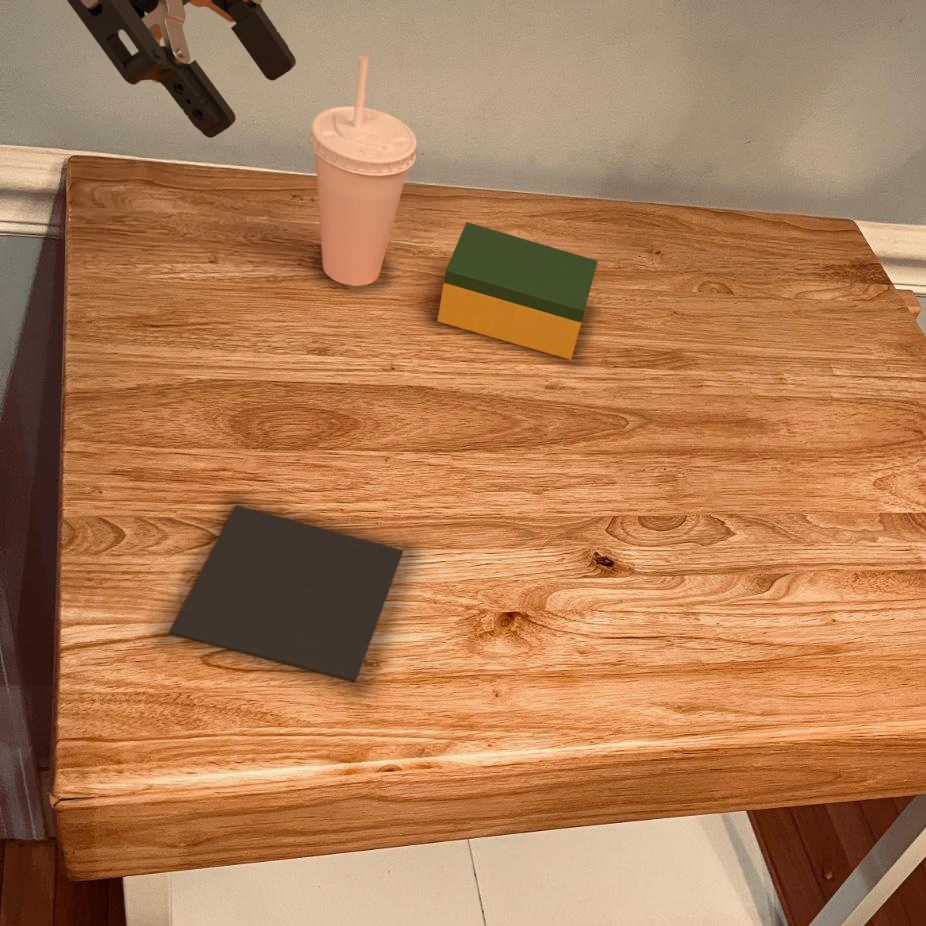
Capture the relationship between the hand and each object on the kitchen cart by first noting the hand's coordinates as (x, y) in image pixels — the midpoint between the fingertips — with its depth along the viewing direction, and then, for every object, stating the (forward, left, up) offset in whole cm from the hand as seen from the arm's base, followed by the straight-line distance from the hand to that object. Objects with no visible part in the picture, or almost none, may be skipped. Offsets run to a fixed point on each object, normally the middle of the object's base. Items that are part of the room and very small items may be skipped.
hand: (255, 100), depth 71 cm
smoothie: (+7, 0, -10) cm, 12 cm away
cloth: (+12, -28, -9) cm, 32 cm away
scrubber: (+18, 0, -9) cm, 20 cm away
